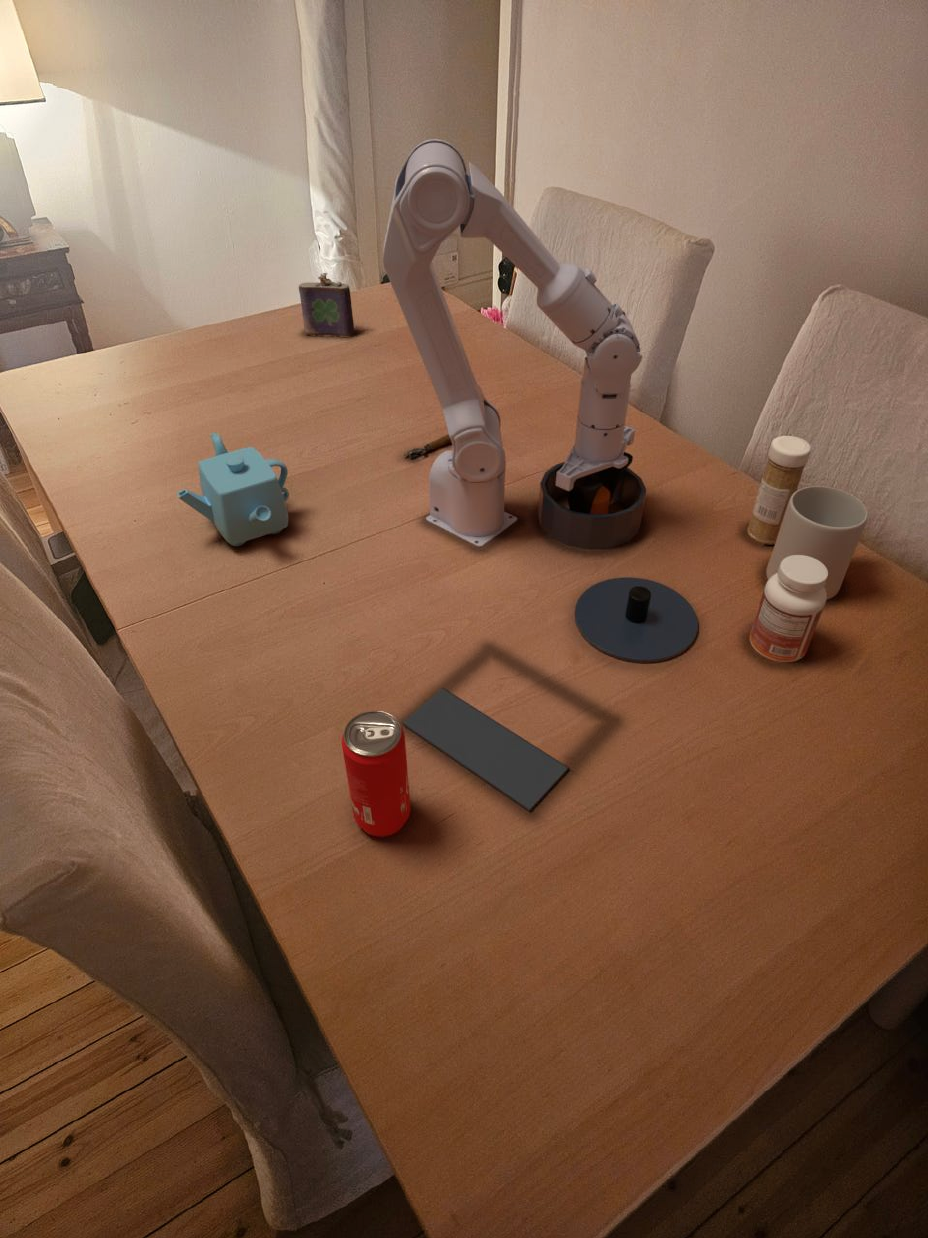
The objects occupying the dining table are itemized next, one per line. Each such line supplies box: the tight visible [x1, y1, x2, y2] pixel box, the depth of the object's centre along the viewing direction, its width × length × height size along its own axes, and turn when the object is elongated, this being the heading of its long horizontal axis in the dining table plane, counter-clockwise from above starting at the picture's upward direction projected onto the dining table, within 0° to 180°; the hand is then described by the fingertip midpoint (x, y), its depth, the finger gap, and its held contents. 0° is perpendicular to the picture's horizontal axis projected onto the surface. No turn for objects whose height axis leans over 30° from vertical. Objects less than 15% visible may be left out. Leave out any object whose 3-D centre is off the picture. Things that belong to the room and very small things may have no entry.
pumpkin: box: [590, 486, 611, 515], centre depth 106 cm, size 5×5×5 cm
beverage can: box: [341, 710, 411, 838], centre depth 71 cm, size 5×5×12 cm
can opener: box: [403, 434, 452, 459], centre depth 121 cm, size 9×2×1 cm, turn 123°
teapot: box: [175, 432, 290, 547], centre depth 104 cm, size 18×14×10 cm
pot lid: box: [574, 576, 699, 664], centre depth 92 cm, size 14×14×5 cm
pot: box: [537, 461, 647, 551], centre depth 106 cm, size 13×13×6 cm
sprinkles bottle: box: [746, 435, 812, 546], centre depth 101 cm, size 5×5×13 cm
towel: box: [402, 687, 570, 812], centre depth 83 cm, size 16×14×1 cm
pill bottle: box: [749, 555, 828, 663], centre depth 87 cm, size 6×6×11 cm
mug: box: [765, 485, 869, 601], centre depth 96 cm, size 12×8×11 cm
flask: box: [298, 272, 355, 338], centre depth 147 cm, size 9×3×11 cm, turn 84°
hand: (589, 511), depth 107 cm, fingers closed on pumpkin, 4 cm apart
